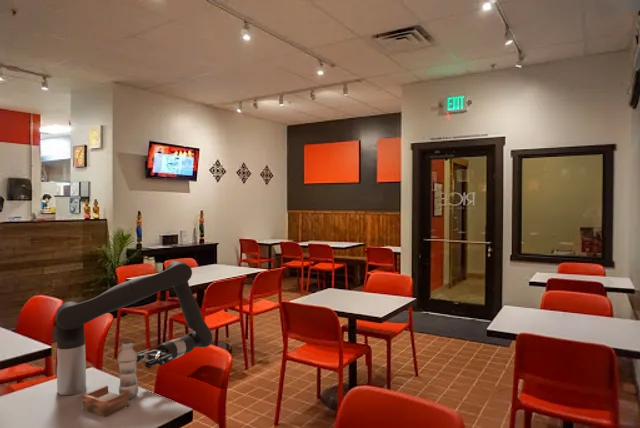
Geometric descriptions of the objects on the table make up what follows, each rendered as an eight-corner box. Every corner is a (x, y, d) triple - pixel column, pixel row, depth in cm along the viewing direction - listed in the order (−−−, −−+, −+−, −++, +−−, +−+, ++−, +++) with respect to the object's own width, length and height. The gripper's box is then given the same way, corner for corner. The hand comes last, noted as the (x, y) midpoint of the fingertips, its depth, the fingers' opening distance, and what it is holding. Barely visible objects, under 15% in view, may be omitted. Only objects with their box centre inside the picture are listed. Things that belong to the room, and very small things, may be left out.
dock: (82, 409, 150) (82, 395, 150) (106, 399, 158) (106, 385, 158) (105, 417, 145) (105, 402, 145) (128, 406, 153) (128, 391, 152)
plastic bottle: (131, 401, 156) (130, 346, 155) (114, 400, 157) (113, 345, 157) (142, 393, 162) (141, 340, 162) (126, 392, 164) (124, 339, 163)
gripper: (158, 338, 181) (124, 350, 167) (184, 343, 174) (151, 356, 160) (159, 356, 181) (125, 369, 167) (184, 362, 174) (151, 376, 160)
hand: (138, 363), depth 163 cm, fingers open, 8 cm apart
